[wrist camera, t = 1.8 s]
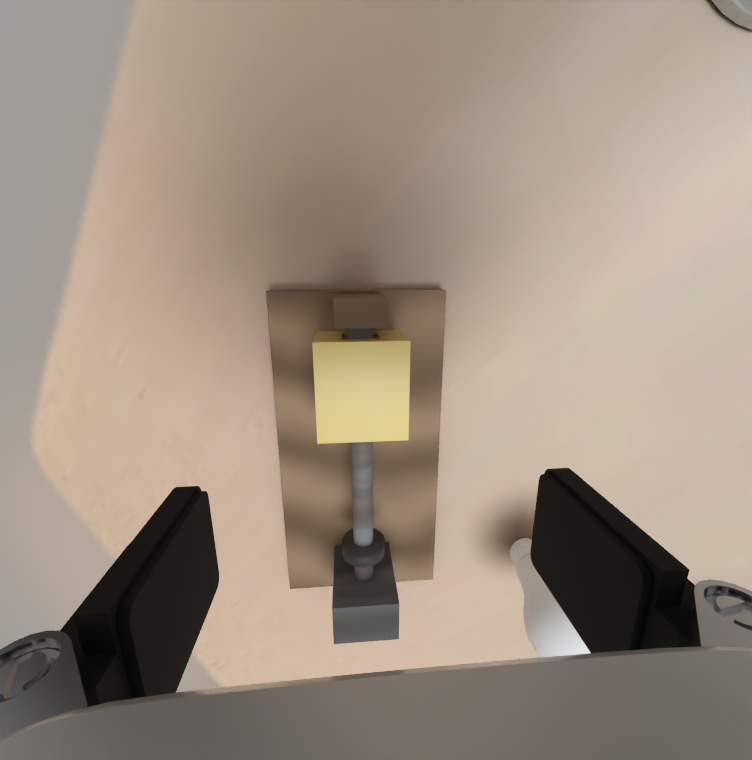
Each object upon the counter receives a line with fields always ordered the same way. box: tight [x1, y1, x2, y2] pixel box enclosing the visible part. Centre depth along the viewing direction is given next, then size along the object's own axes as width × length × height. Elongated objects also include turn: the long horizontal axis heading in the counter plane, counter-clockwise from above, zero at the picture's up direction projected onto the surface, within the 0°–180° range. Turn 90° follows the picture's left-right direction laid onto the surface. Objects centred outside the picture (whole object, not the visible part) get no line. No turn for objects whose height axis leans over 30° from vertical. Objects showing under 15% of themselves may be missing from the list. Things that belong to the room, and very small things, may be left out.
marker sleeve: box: [312, 330, 411, 444], centre depth 24 cm, size 6×5×4 cm
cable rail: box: [266, 289, 446, 644], centre depth 26 cm, size 24×12×7 cm, turn 0°
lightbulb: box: [510, 538, 591, 657], centre depth 28 cm, size 6×6×11 cm
